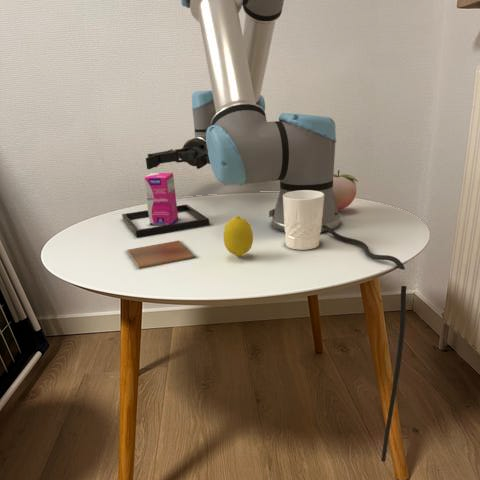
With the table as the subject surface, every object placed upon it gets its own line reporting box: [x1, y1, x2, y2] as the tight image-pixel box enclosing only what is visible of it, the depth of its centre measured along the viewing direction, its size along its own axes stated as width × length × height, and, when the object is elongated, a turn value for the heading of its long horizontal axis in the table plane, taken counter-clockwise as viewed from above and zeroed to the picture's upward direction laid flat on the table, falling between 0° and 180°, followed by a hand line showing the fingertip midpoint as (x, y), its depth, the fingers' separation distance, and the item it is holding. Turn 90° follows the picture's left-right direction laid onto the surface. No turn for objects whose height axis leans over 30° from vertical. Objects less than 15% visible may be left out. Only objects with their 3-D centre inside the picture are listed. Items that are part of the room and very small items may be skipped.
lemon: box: [223, 215, 254, 259], centre depth 81 cm, size 6×6×8 cm
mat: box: [127, 240, 196, 269], centre depth 86 cm, size 11×11×1 cm
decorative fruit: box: [333, 169, 359, 212], centre depth 105 cm, size 9×8×10 cm
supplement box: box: [142, 172, 179, 226], centre depth 105 cm, size 6×6×12 cm
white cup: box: [283, 190, 324, 251], centre depth 85 cm, size 8×8×10 cm
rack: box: [121, 204, 210, 238], centre depth 107 cm, size 18×18×2 cm
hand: (172, 163), depth 110 cm, fingers open, 13 cm apart
